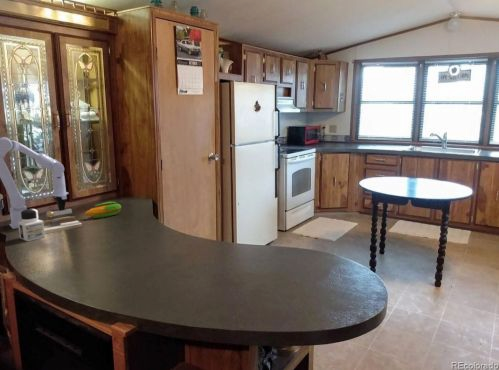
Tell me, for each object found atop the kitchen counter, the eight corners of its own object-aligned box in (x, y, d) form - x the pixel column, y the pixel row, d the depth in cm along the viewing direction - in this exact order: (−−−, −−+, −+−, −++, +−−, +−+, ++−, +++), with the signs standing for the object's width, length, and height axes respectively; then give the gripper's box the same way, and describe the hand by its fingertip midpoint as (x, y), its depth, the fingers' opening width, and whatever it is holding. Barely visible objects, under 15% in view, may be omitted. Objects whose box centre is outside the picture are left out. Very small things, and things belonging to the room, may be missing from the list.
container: (27, 241, 169) (23, 213, 166) (19, 238, 173) (16, 210, 171) (45, 237, 175) (42, 209, 172) (37, 234, 179) (34, 206, 177)
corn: (123, 200, 212) (87, 207, 198) (124, 214, 213) (89, 221, 199) (117, 199, 217) (81, 205, 203) (118, 212, 219) (83, 219, 204)
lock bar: (47, 217, 191) (47, 213, 190) (46, 216, 193) (45, 211, 193) (72, 213, 198) (72, 209, 198) (70, 212, 201) (70, 207, 200)
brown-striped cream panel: (34, 225, 193) (33, 217, 193) (70, 219, 204) (69, 211, 204) (44, 234, 179) (43, 225, 178) (82, 226, 190) (81, 218, 189)
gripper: (71, 186, 196) (74, 211, 199) (63, 182, 207) (65, 206, 210) (56, 187, 192) (59, 214, 195) (48, 184, 203) (51, 209, 205)
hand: (61, 210), depth 202 cm, fingers closed
